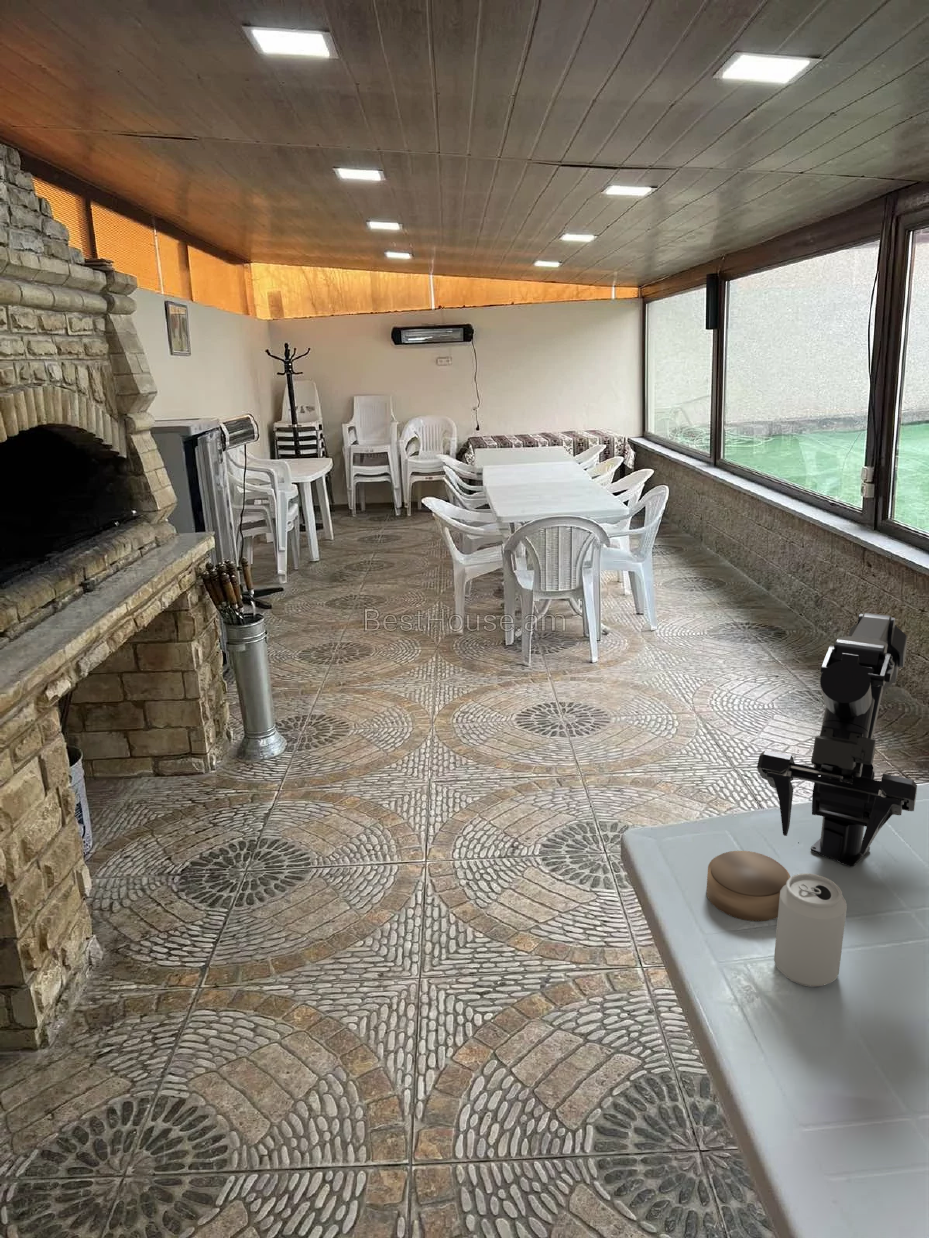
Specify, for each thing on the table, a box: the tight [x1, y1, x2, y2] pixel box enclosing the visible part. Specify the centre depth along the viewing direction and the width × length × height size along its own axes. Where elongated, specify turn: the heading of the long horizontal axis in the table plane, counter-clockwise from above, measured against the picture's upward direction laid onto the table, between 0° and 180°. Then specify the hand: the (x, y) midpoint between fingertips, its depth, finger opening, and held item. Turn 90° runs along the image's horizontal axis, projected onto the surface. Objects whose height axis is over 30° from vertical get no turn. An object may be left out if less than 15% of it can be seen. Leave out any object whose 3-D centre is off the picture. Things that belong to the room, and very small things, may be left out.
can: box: [773, 873, 848, 988], centre depth 104 cm, size 8×8×12 cm
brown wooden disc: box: [706, 850, 791, 922], centre depth 120 cm, size 11×11×4 cm
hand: (822, 844), depth 109 cm, fingers open, 9 cm apart
